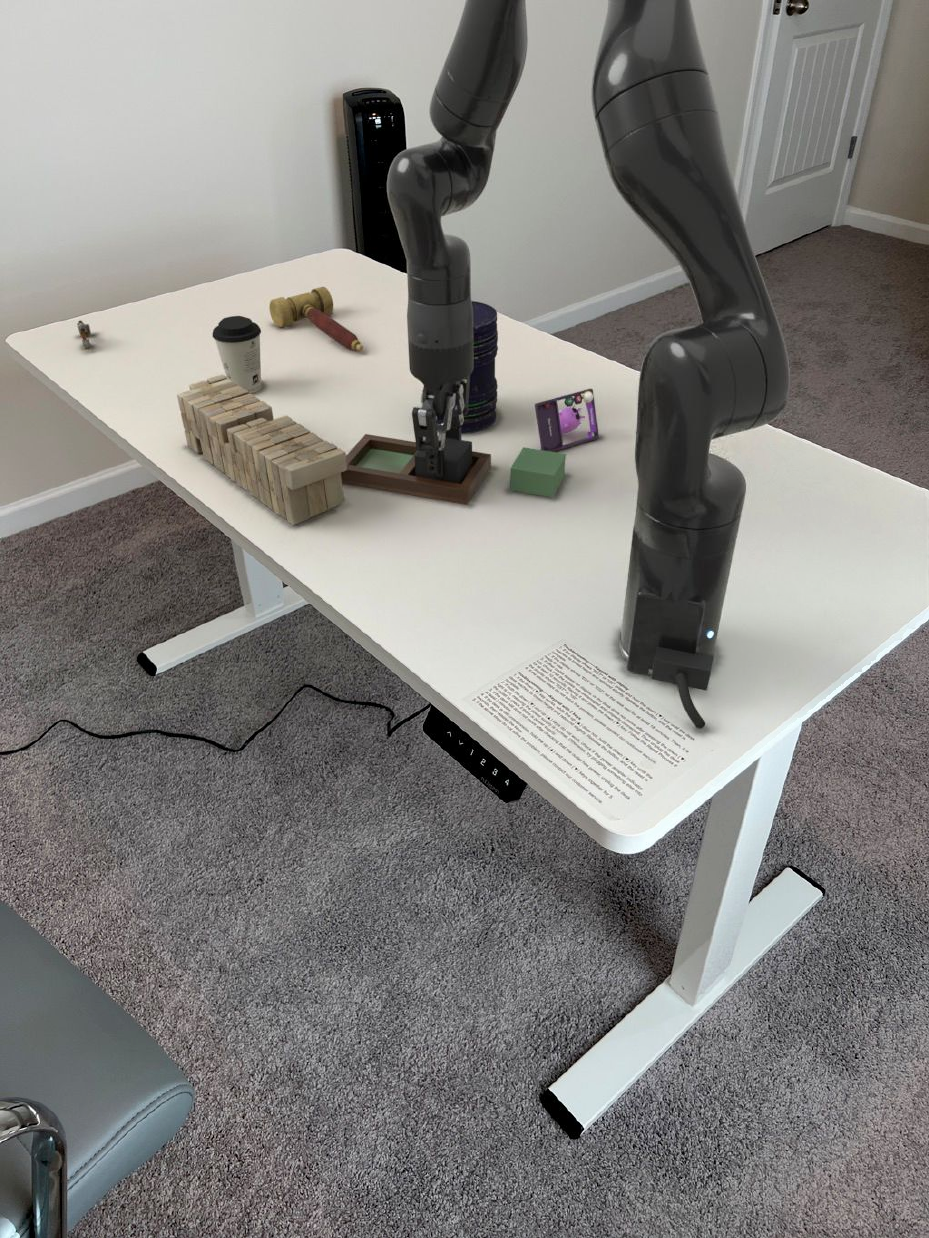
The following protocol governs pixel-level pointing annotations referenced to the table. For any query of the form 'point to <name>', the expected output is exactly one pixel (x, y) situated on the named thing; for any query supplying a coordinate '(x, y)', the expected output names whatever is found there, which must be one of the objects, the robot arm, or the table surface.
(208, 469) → the table surface
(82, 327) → the wooden post with brackets
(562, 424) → the game card
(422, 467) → the charcoal pad
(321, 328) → the gavel
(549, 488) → the sage pad
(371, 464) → the divided wooden tray
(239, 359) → the coffee cup
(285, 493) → the block tower
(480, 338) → the navy oil drum
